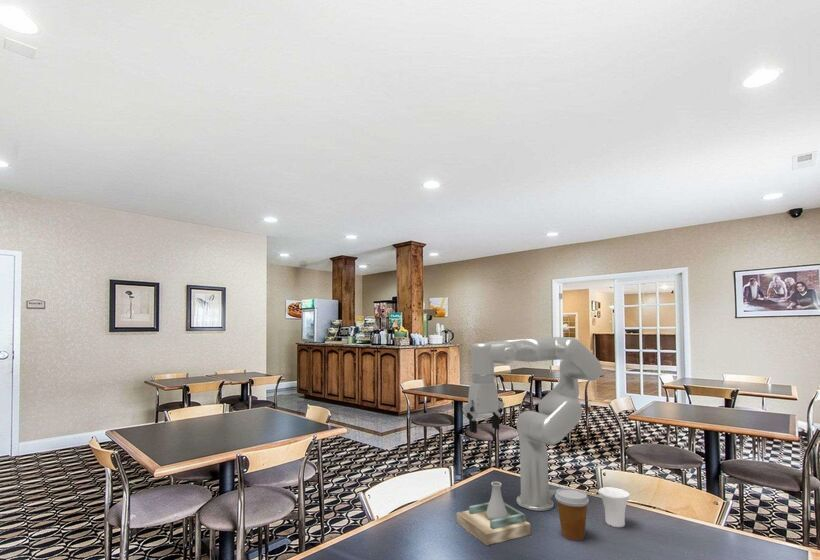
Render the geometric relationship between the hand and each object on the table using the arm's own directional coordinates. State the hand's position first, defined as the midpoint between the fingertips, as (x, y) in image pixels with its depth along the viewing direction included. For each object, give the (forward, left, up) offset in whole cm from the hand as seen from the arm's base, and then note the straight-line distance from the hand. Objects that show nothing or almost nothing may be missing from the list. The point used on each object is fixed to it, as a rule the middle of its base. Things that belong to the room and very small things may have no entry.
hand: (484, 430), depth 145 cm
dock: (+4, +10, -27) cm, 29 cm away
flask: (+3, +10, -24) cm, 26 cm away
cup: (-33, +24, -27) cm, 48 cm away
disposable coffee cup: (-15, +24, -27) cm, 39 cm away
